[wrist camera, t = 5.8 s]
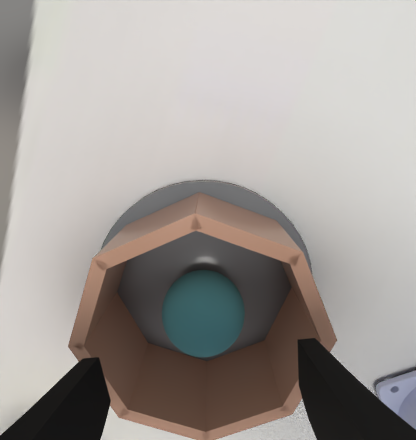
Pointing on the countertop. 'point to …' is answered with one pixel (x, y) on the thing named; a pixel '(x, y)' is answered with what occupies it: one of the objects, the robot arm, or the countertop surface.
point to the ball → (203, 313)
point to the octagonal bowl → (157, 289)
